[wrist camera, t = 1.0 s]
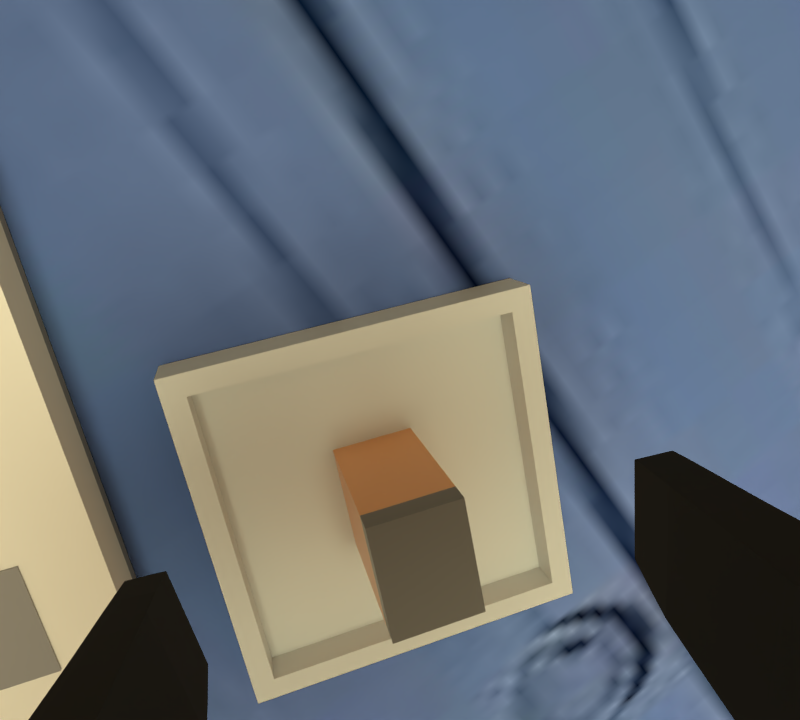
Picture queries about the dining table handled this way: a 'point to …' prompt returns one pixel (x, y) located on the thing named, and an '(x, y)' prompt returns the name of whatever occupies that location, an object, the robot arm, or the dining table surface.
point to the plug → (410, 534)
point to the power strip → (45, 508)
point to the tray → (320, 483)
